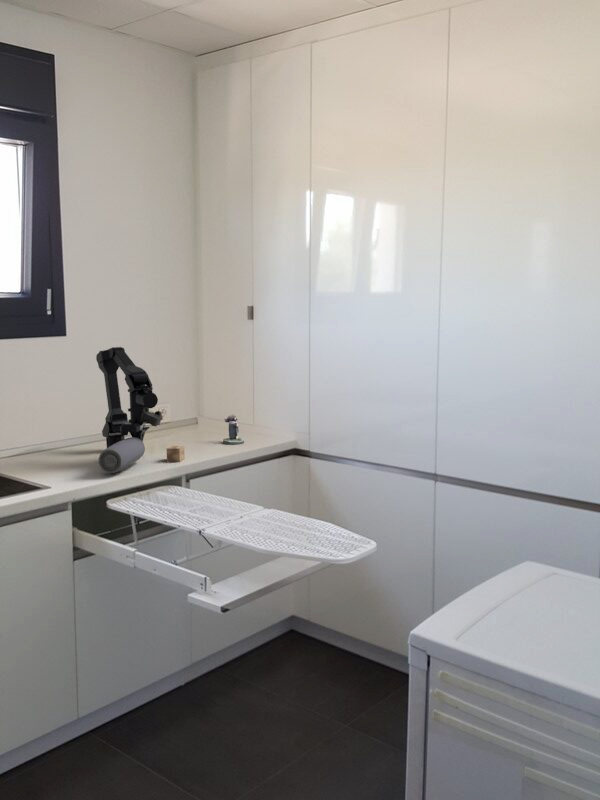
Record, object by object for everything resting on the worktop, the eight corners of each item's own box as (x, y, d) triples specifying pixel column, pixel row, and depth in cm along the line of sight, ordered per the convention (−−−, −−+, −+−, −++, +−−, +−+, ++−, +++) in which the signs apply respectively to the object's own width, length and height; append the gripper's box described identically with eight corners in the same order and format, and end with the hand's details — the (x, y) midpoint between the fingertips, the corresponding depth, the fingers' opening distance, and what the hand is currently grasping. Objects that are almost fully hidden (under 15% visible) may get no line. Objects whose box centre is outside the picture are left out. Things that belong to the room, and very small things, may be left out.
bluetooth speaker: (122, 462, 292) (121, 435, 290) (146, 462, 290) (145, 435, 289) (97, 476, 270) (95, 447, 268) (123, 477, 268) (122, 448, 267)
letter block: (166, 461, 292) (166, 448, 291) (171, 459, 296) (171, 445, 296) (179, 462, 291) (179, 448, 290) (184, 459, 295) (184, 445, 295)
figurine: (229, 445, 320) (228, 416, 318) (219, 442, 327) (218, 413, 325) (247, 443, 325) (247, 414, 323) (237, 440, 332) (237, 411, 330)
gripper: (148, 409, 280) (149, 453, 283) (168, 402, 298) (169, 443, 301) (118, 408, 283) (120, 452, 285) (140, 401, 301) (142, 442, 303)
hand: (139, 447), depth 293 cm, fingers closed
